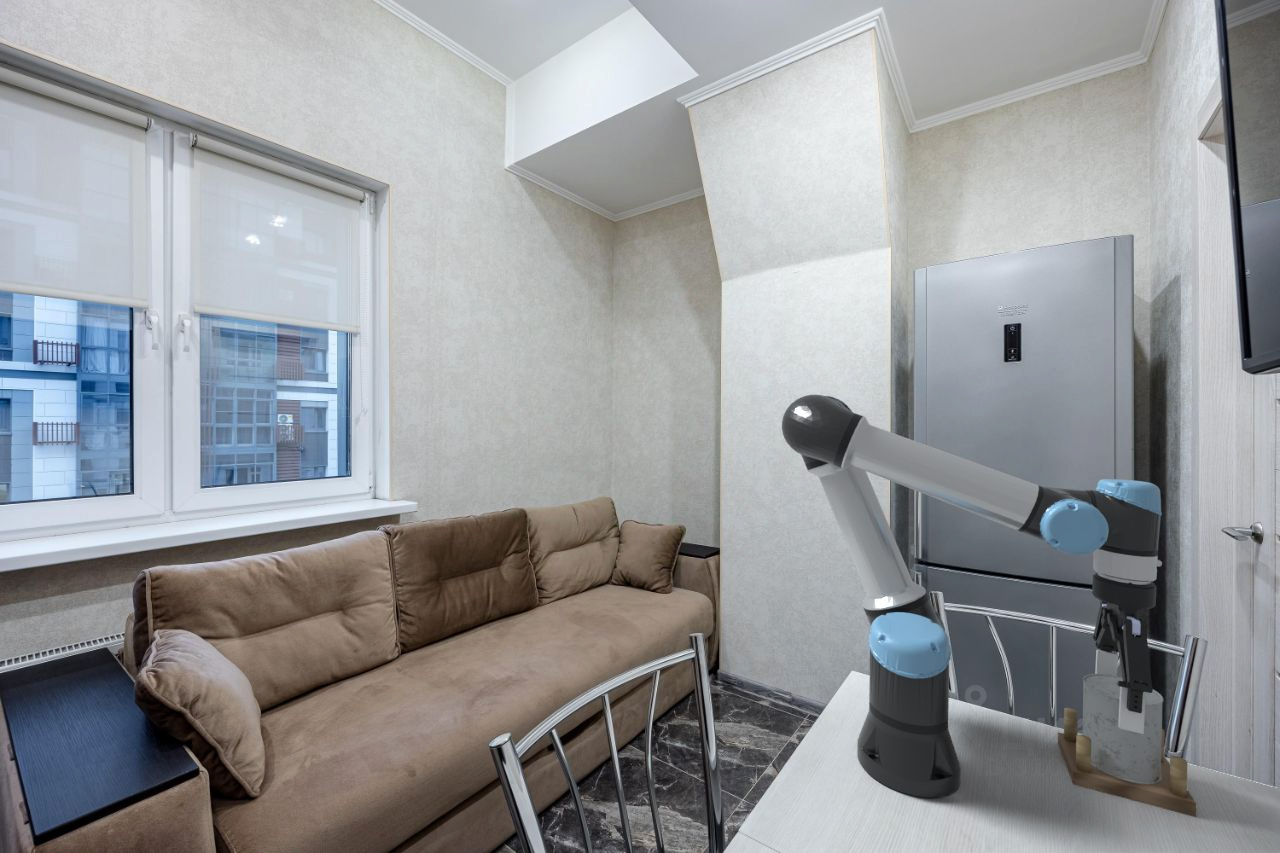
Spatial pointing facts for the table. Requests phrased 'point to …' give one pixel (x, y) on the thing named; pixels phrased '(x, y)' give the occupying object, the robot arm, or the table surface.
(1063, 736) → the peg stand
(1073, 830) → the table surface
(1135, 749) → the grey marbled cylinder
